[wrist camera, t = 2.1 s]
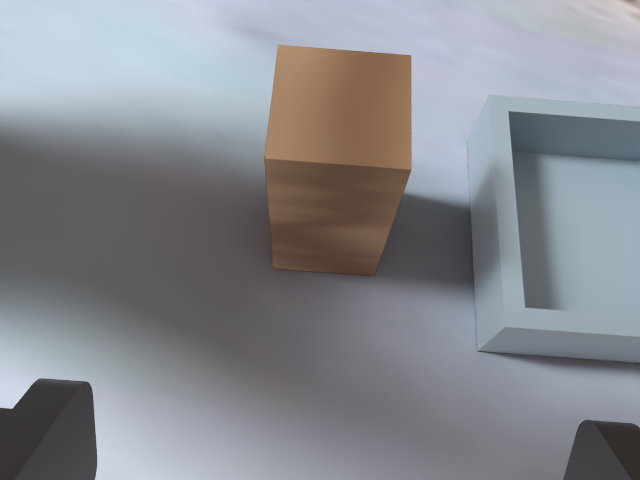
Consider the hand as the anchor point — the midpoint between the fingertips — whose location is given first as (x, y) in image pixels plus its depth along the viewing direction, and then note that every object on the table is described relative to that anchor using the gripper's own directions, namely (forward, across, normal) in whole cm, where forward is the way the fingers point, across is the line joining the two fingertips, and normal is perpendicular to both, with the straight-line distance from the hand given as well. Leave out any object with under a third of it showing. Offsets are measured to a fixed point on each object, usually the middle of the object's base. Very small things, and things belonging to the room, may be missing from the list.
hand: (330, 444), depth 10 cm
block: (+18, 0, +2) cm, 18 cm away
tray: (+18, -12, +2) cm, 21 cm away
